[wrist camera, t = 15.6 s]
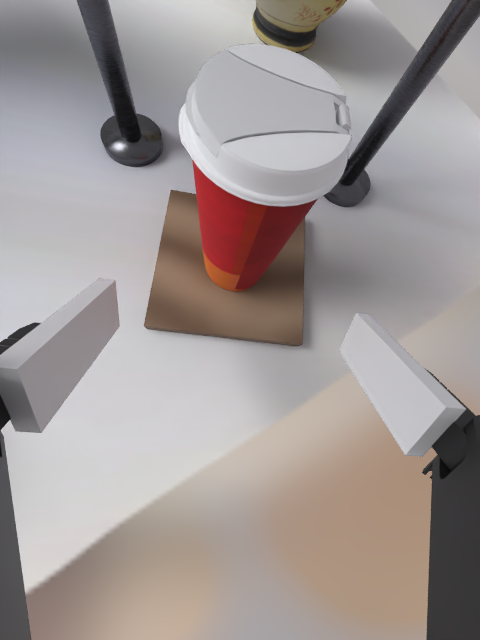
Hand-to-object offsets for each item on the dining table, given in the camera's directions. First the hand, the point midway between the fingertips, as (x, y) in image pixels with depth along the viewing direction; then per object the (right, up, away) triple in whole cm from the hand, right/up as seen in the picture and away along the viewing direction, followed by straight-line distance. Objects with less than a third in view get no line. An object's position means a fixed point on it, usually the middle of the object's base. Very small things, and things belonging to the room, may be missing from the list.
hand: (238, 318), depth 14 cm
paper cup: (-1, +5, +10) cm, 11 cm away
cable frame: (0, +18, +14) cm, 23 cm away
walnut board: (-1, +5, +11) cm, 12 cm away
